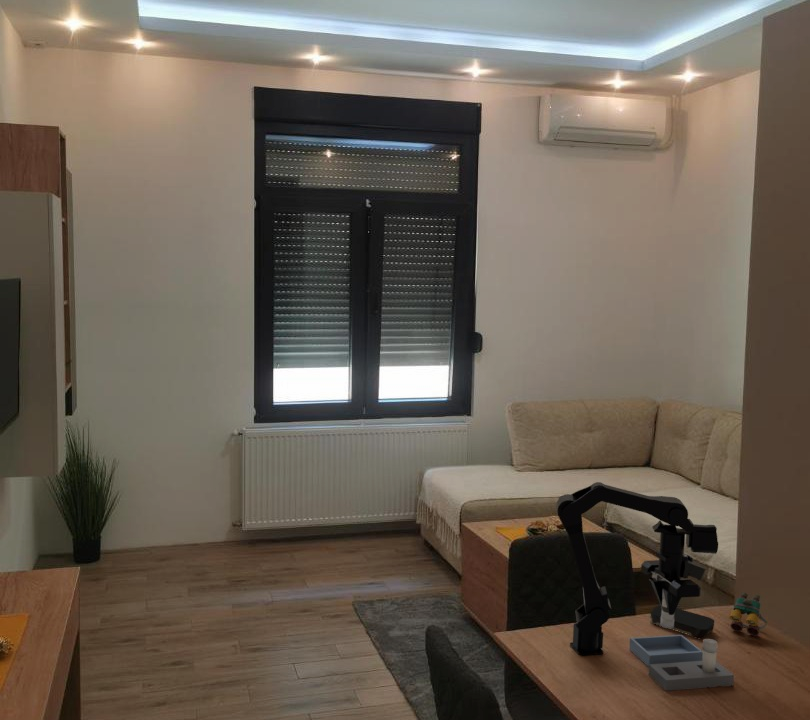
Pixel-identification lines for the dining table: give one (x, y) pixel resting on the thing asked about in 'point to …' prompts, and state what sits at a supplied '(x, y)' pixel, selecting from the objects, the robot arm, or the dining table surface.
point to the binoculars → (752, 611)
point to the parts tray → (665, 649)
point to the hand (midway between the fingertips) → (667, 612)
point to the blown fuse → (666, 615)
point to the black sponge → (686, 622)
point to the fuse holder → (689, 675)
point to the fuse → (709, 655)
